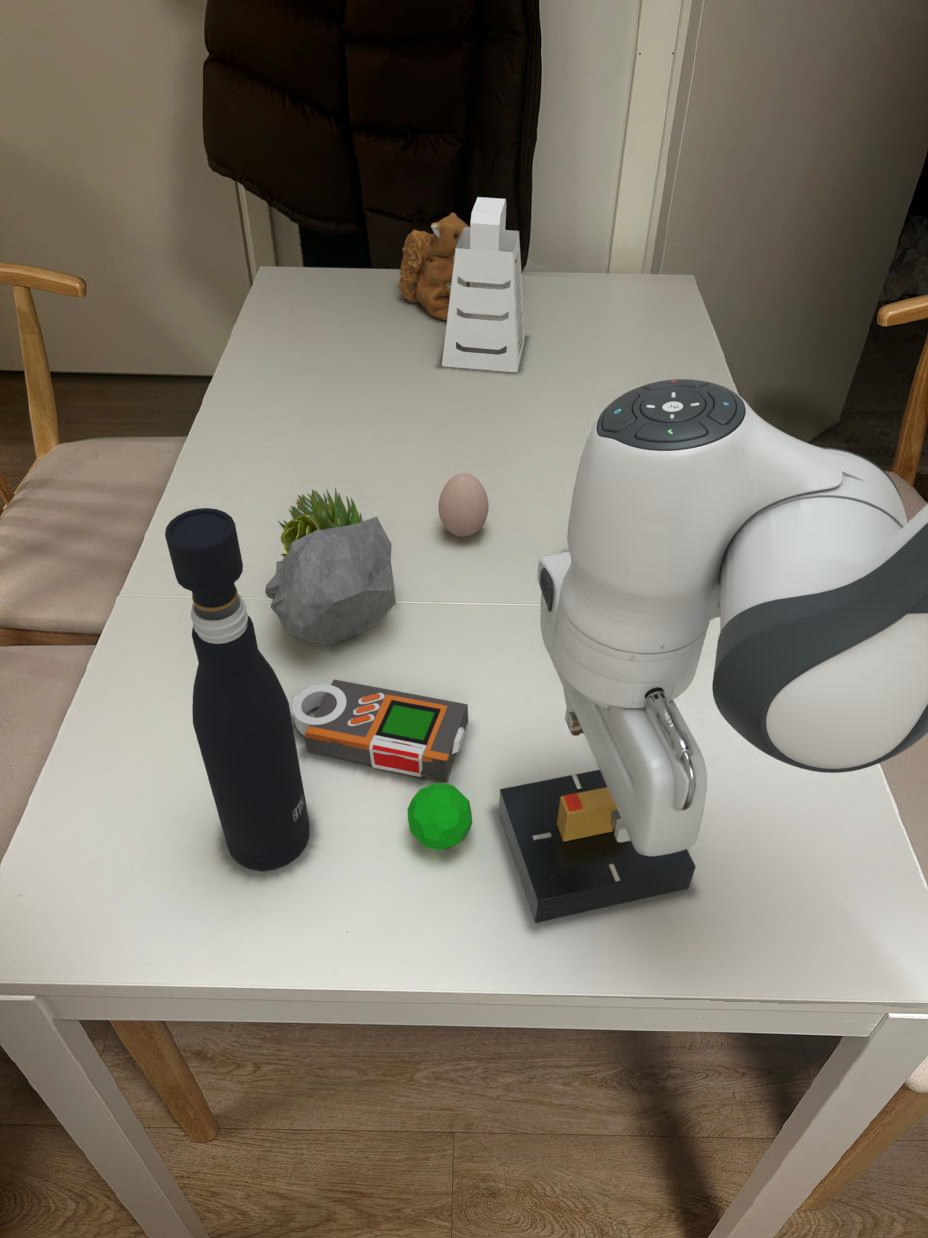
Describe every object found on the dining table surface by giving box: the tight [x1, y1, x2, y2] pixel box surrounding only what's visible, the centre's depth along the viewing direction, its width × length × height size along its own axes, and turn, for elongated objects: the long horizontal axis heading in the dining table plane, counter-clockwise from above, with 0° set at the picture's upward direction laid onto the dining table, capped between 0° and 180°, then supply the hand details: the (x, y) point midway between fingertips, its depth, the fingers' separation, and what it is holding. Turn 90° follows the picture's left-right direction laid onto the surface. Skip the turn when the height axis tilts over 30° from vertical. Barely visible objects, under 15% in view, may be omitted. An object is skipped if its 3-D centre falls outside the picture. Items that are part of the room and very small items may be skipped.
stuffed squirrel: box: [396, 212, 471, 322], centre depth 139 cm, size 10×14×13 cm
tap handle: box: [557, 787, 617, 842], centre depth 69 cm, size 6×2×4 cm, turn 104°
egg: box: [437, 472, 489, 538], centre depth 99 cm, size 5×5×7 cm
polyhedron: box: [407, 782, 473, 851], centre depth 71 cm, size 5×5×5 cm
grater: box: [441, 196, 526, 373], centre depth 125 cm, size 10×10×20 cm
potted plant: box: [264, 487, 397, 646], centre depth 88 cm, size 12×13×15 cm
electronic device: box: [291, 679, 469, 781], centre depth 79 cm, size 7×3×15 cm
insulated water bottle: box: [164, 507, 311, 872], centre depth 62 cm, size 6×6×30 cm
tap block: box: [498, 769, 697, 924], centre depth 71 cm, size 12×10×3 cm
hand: (600, 777), depth 66 cm, fingers open, 8 cm apart
